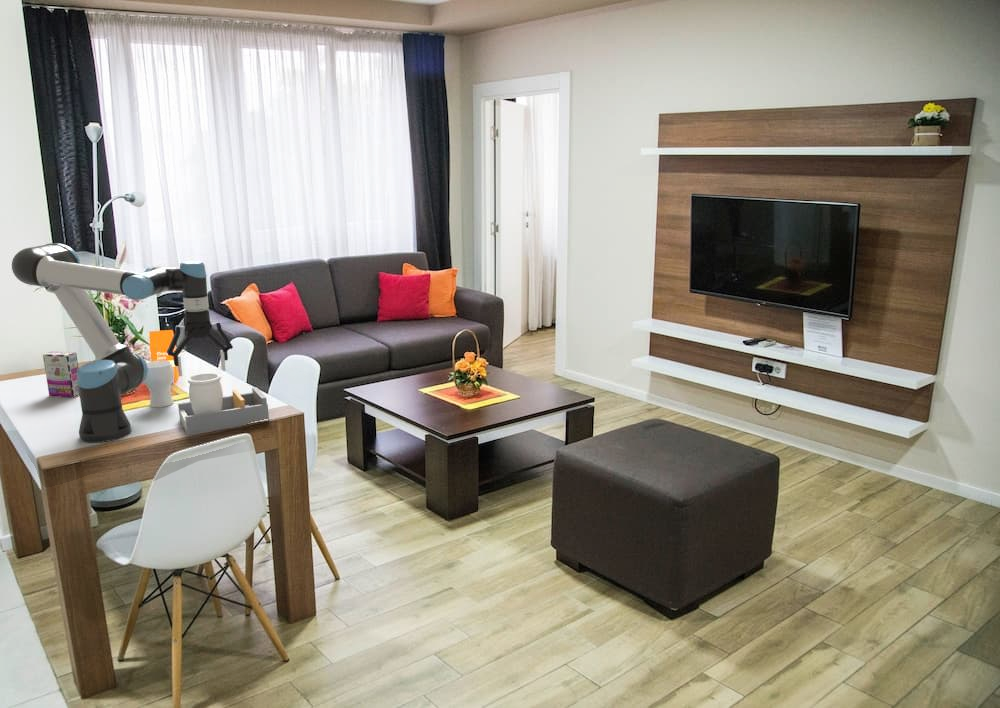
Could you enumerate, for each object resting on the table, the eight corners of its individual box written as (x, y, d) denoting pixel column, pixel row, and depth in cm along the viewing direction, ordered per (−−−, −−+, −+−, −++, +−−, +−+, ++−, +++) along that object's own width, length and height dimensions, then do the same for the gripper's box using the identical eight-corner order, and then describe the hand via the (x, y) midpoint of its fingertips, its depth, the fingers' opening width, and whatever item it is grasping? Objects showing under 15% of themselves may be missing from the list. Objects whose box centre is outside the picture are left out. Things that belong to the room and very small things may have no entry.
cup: (139, 406, 291) (134, 366, 287) (163, 398, 300) (158, 359, 297) (160, 410, 287) (155, 369, 283) (184, 401, 296) (179, 362, 292)
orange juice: (156, 377, 328) (150, 329, 323) (179, 375, 330) (174, 327, 325) (153, 383, 320) (147, 333, 315) (177, 381, 323) (171, 331, 318)
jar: (214, 426, 266) (209, 382, 262) (185, 424, 268) (180, 380, 264) (230, 416, 276) (226, 373, 272) (203, 414, 278) (198, 372, 274)
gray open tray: (187, 435, 261) (185, 411, 259) (179, 420, 276) (177, 397, 274) (269, 421, 273) (267, 398, 271) (257, 407, 288) (255, 386, 286)
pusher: (242, 420, 271) (240, 400, 269) (234, 409, 282) (232, 390, 280) (255, 418, 273) (253, 398, 271) (246, 407, 284) (244, 388, 282)
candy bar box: (83, 394, 307) (77, 352, 303) (73, 398, 302) (67, 355, 298) (58, 392, 309) (51, 350, 305) (48, 396, 305) (41, 354, 301)
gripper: (156, 315, 254) (163, 380, 259) (238, 308, 265) (243, 370, 271) (153, 310, 260) (160, 374, 265) (233, 304, 272) (238, 365, 277)
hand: (202, 372), depth 268 cm, fingers open, 13 cm apart
